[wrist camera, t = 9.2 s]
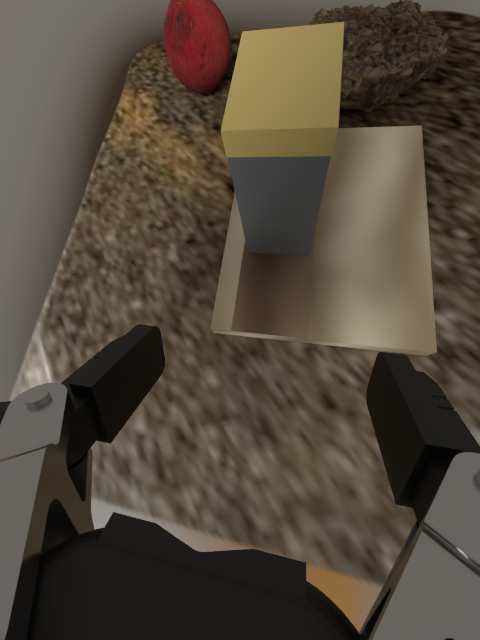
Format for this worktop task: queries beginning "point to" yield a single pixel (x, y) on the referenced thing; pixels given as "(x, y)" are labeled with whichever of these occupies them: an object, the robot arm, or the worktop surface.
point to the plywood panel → (344, 257)
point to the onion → (197, 43)
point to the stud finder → (283, 132)
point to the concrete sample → (384, 51)
